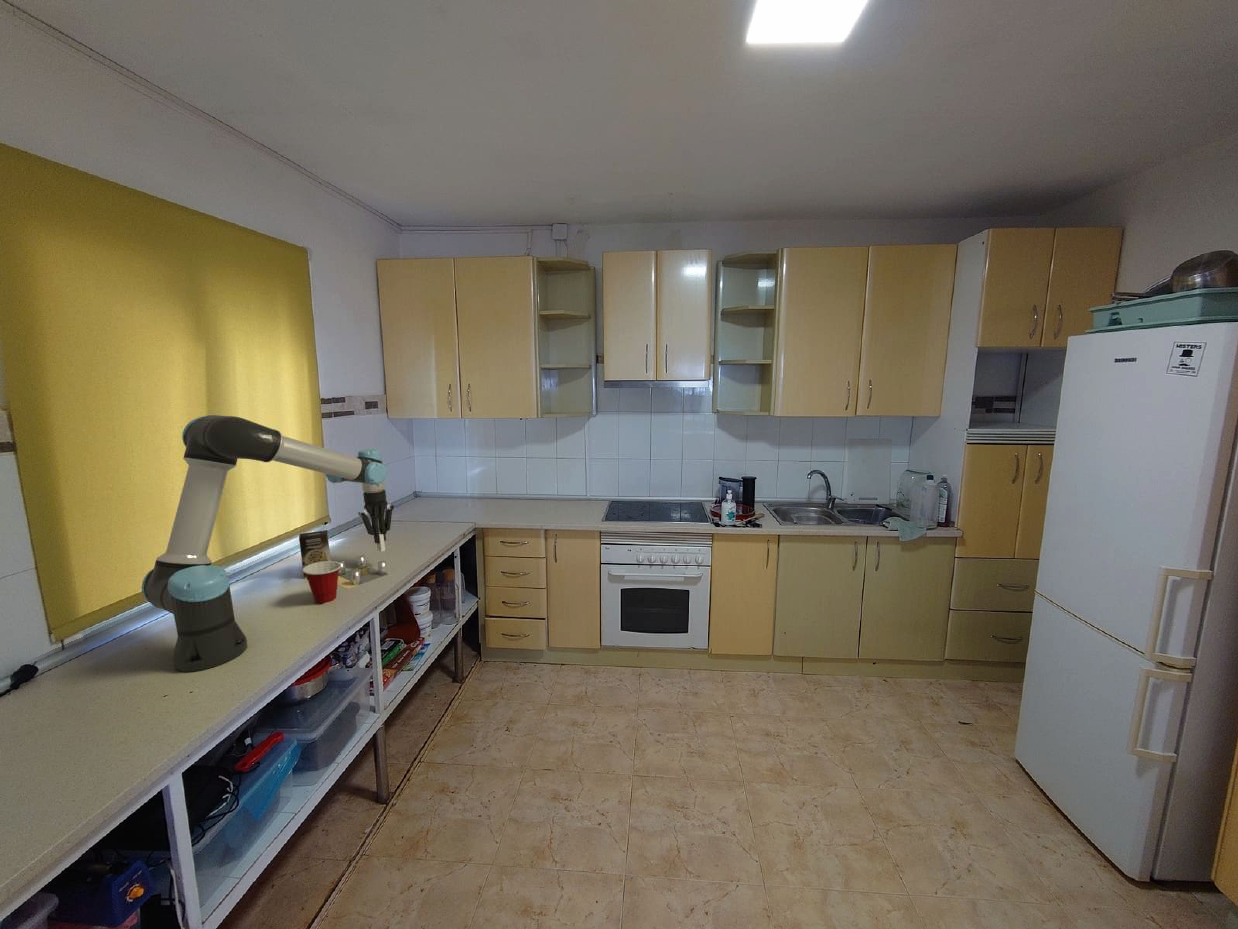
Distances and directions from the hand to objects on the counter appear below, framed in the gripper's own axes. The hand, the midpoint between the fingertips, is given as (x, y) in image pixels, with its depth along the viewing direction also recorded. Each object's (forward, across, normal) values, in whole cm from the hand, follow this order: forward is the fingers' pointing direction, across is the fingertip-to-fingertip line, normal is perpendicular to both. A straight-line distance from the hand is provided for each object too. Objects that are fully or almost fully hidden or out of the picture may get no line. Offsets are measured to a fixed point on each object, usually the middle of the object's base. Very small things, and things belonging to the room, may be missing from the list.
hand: (381, 550), depth 187 cm
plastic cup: (+7, -26, -11) cm, 29 cm away
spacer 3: (+7, -5, +6) cm, 11 cm away
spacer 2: (+7, -14, -7) cm, 17 cm away
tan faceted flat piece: (+7, -8, 0) cm, 10 cm away
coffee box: (+7, -17, +15) cm, 24 cm away
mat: (+7, -10, 0) cm, 12 cm away
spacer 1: (+7, -12, +7) cm, 16 cm away
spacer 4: (+7, -4, -7) cm, 10 cm away
